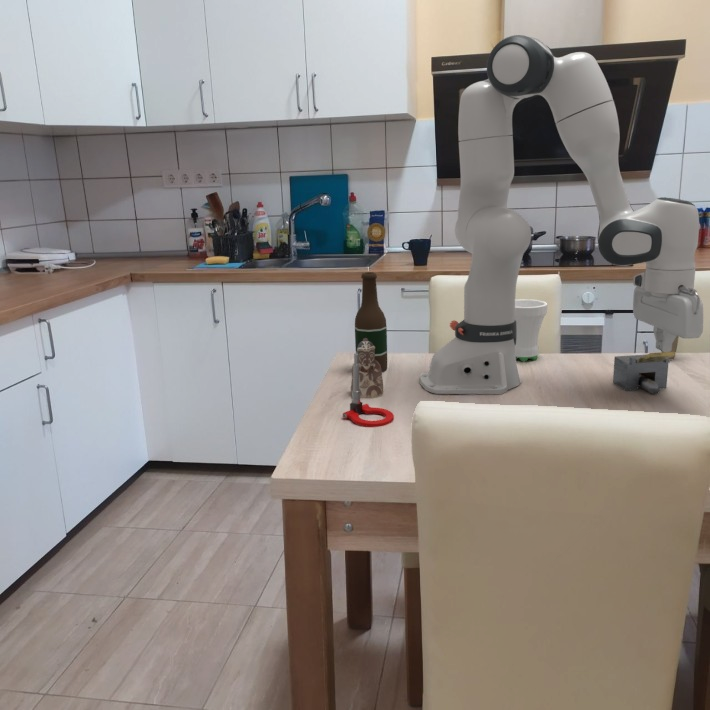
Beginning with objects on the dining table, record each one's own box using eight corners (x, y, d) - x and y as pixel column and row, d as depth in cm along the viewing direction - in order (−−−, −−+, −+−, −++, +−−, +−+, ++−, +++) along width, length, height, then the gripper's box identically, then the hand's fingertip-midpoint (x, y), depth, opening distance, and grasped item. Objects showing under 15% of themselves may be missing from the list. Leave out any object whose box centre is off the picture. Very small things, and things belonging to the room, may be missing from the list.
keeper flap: (648, 357, 136) (648, 353, 136) (635, 363, 141) (634, 359, 142) (677, 355, 136) (676, 351, 136) (662, 361, 142) (662, 358, 142)
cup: (501, 363, 167) (502, 307, 163) (498, 352, 177) (499, 299, 174) (548, 363, 165) (550, 307, 161) (542, 352, 176) (544, 298, 172)
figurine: (348, 398, 145) (346, 344, 142) (353, 388, 152) (351, 336, 149) (381, 398, 144) (380, 344, 141) (384, 388, 151) (383, 336, 148)
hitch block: (628, 392, 142) (630, 358, 140) (612, 382, 149) (615, 350, 147) (669, 389, 143) (672, 356, 141) (652, 380, 150) (654, 348, 148)
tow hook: (402, 420, 132) (367, 408, 138) (403, 357, 129) (367, 348, 135) (374, 432, 126) (338, 420, 132) (374, 367, 123) (338, 357, 129)
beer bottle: (385, 374, 161) (383, 275, 155) (353, 374, 162) (350, 275, 156) (389, 365, 168) (387, 270, 162) (358, 365, 170) (355, 270, 164)
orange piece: (643, 394, 140) (644, 379, 139) (616, 378, 151) (617, 363, 150) (665, 393, 140) (667, 378, 139) (637, 377, 152) (638, 362, 151)
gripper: (716, 289, 122) (708, 363, 126) (658, 274, 142) (652, 337, 145) (683, 291, 122) (676, 364, 125) (629, 275, 141) (624, 339, 145)
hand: (663, 350), depth 136 cm, fingers closed
